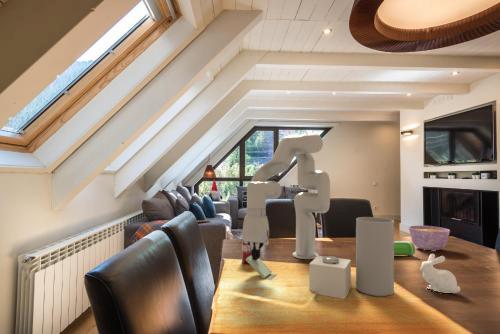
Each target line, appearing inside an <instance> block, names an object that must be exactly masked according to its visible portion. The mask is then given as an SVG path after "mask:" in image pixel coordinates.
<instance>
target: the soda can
mask: <svg viewBox="0 0 500 334" xmlns="http://www.w3.org/2000/svg"><path fill="white" fill-rule="evenodd" d="M243 241H244V240H243V239H242V238H241V263H242V264H243V265H247V266H251V265H250V264H249V263H248V262H247V261H246V258H247V257H249V256H251V255H252V249H251V248H250V246H249V245H248V244H246V243H244V242H243ZM256 244H257V243H256Z"/></svg>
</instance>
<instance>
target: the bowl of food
mask: <svg viewBox="0 0 500 334" xmlns="http://www.w3.org/2000/svg"><path fill="white" fill-rule="evenodd" d="M408 231H409V236H410V238H411V241H412V243H413V244H414V247H415V246H416V247H417V248H419V249H420V248H421V249H425V250H437V251H439V250H442V249H443V248H445V247H446V246H447V243H448V239H449V236H450V232H451V229H449V228H445V227H440V226H432V225H410V226H408ZM421 249H420V250H421ZM425 250H424V251H425Z"/></svg>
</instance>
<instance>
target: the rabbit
mask: <svg viewBox="0 0 500 334" xmlns="http://www.w3.org/2000/svg"><path fill="white" fill-rule="evenodd" d="M435 257H436V255H435V254H434V253H430V254H429V256H428V259H427V260H426V261H425V260H424V261H422V262H421V266H420V268H419V270H420V272H422V277H423V280H424V281H425V282H427V283H428V284H429V285H427V286H426V289H427V288H428V289H433V290H434V291H438V292H443V293H453V294H452V295H454V294H458V293H459V292H460V291H461V287H460V286H459V285H458V282H457V277H456V276H455V275H454V273H452V272H451V271H449V270H447V269H438V268H435V267H434V265H436V264H441V263H443V262H445V261H446V257H445V256H444V255H441V256H438V257H436V258H435ZM428 286H429V287H428ZM434 291H433V292H434Z"/></svg>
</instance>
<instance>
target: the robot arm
mask: <svg viewBox="0 0 500 334" xmlns="http://www.w3.org/2000/svg"><path fill="white" fill-rule="evenodd" d="M323 145H324V142H323V138H322V137H321V135H319V134H300V135H299V134H297V135H287V136H284V137H283V138H281V140H280V141H279V143H278V145H277V148H276V150H275V152H274V153H273V155H272V157H271V159H270V160H269V161H267V162H266V163H265V164H263V165H262V166H260V167H259V168H257V170H256V172H255V173H254V174H253V176H252V178H251V180H250V181H249V182H247V185H246V208H244V209H243V212H244V213H245V215H244V218H243V223H242V235H241V237H242V238H241V240H242V239H243V240H244V241H243V242H244V243H246V244H248V245H249V246H250V248H251V249H252V259H253V260H254V259H255V260H257V259H259V258H260V257H261V249H262V248H263V247H265V246H268V245H270V242H269V240H270V225H269V220H268V216H267V213H266V212H267V211H266V208H267V206H266V205H267V203H266V201H267V200H277V199H278V198H279V197H280V196H281V195H282V192H283V189H282V185H281V184H280V183H279V182H278V181H274V180H269V179H270V178H272V177H274V176H277V175H280V174H281V173H284V172H286V171H287V170H289V168H290V165H291V163H292V161H293V160H294V157H295V160H296V163H297V178H296V179H297V186H298V188H299V189H301V190H304V191H305V190H307V191H308V190H309V191H317V192H307V191H305V192H304V191H302V192H299V193H297V194H296V195H295V196H294V199H293V202H294V203H293V204H294V209H295V251H294V252H292V256H293V257H294V258H296V259H301V260H314V259H315V258H316V257H317V256H319V253H318V252H316V219H315V216H314V215H313V213H317V214H326V213H327V212H329V209H330V206H331V203H330V202H331V179H330V175H329V174H328V172H326V171H324V170H316V169H315V168H316V167H315V165H316V164H315V162H316V161H315V158H314V156H313V155H312V154H314V153H319V152H320V151H321V150H322V149H323ZM256 243H257V244H256Z"/></svg>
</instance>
